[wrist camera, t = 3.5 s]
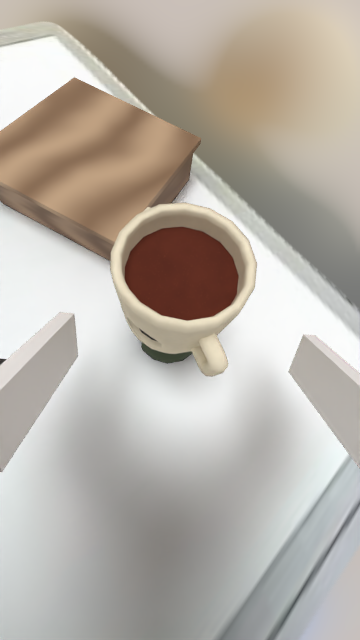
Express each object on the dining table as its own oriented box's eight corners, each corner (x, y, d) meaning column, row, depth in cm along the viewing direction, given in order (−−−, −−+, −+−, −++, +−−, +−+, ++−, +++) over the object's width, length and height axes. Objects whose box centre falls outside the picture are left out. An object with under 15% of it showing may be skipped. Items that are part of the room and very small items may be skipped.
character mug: (117, 298, 23) (78, 190, 11) (180, 277, 25) (204, 164, 13) (155, 399, 21) (157, 403, 8) (223, 369, 22) (307, 336, 10)
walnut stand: (-5, 204, 26) (-41, 160, 21) (86, 125, 31) (74, 77, 27) (124, 273, 24) (117, 243, 20) (193, 178, 30) (201, 138, 25)
